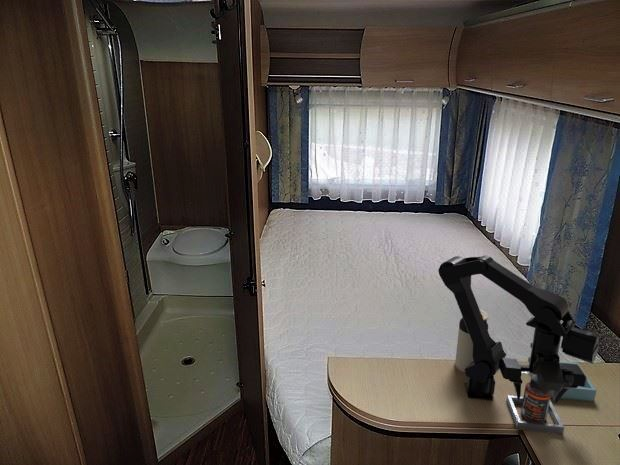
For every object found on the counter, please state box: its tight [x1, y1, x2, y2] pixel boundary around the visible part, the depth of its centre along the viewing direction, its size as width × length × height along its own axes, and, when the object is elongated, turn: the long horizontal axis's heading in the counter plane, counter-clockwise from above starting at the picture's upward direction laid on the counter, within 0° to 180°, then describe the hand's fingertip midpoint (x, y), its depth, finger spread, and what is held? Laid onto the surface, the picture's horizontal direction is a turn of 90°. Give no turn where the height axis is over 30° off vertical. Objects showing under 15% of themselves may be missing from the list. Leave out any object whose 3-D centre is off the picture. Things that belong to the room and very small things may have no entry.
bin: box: [530, 360, 597, 403], centre depth 126 cm, size 13×13×4 cm
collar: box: [505, 394, 565, 435], centre depth 114 cm, size 11×11×2 cm
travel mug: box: [454, 308, 490, 374], centre depth 132 cm, size 8×8×18 cm
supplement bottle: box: [520, 375, 552, 423], centre depth 112 cm, size 6×6×11 cm
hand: (536, 400), depth 112 cm, fingers open, 8 cm apart
